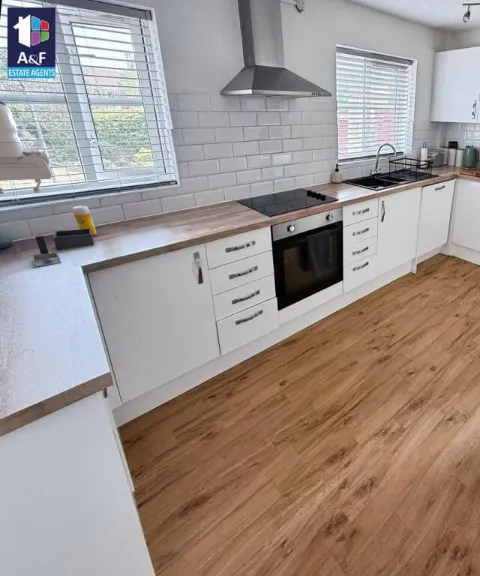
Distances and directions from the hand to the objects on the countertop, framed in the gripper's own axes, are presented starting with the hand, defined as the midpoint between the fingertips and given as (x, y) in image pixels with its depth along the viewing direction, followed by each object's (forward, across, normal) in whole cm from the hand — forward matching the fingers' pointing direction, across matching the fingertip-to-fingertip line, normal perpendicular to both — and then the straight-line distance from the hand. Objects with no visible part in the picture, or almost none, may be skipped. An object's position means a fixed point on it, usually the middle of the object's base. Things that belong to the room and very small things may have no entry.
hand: (19, 193), depth 129 cm
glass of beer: (+29, -14, -52) cm, 61 cm away
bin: (+29, -9, -34) cm, 46 cm away
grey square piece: (+29, 0, -14) cm, 32 cm away
